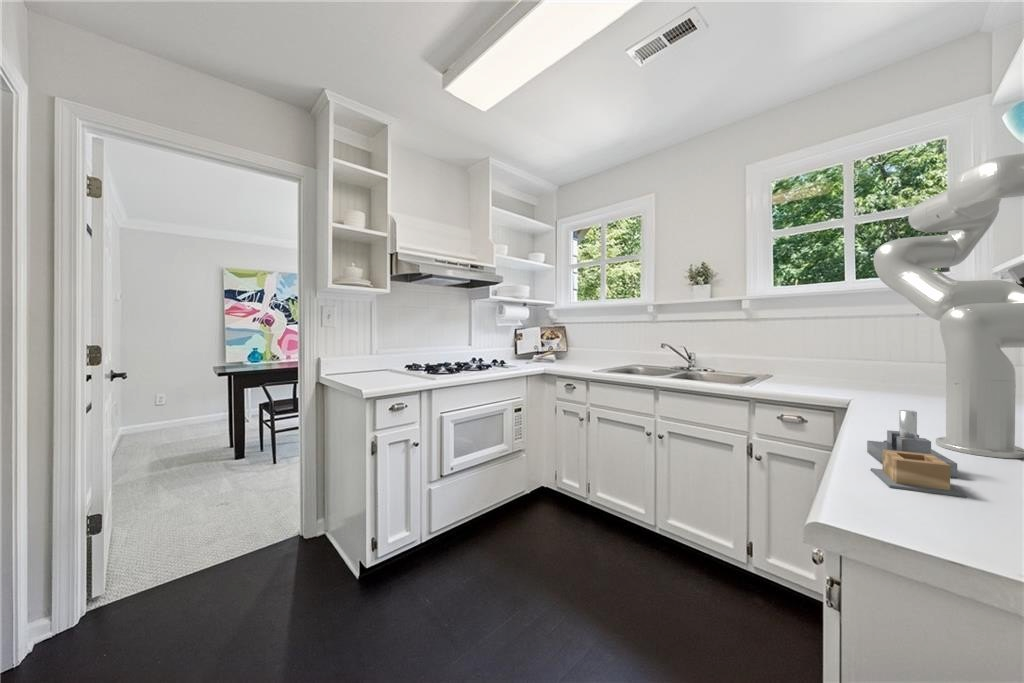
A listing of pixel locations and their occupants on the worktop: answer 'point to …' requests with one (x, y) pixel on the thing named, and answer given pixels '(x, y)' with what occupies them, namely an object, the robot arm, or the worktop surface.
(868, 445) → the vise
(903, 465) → the collar
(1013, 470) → the worktop surface
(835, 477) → the worktop surface
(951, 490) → the mat
